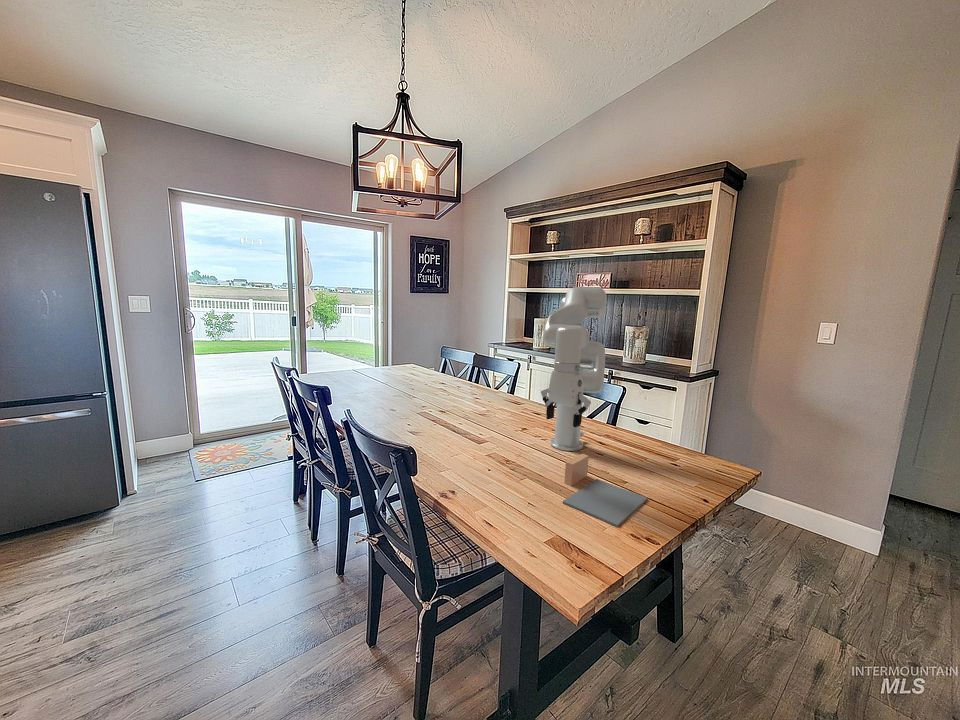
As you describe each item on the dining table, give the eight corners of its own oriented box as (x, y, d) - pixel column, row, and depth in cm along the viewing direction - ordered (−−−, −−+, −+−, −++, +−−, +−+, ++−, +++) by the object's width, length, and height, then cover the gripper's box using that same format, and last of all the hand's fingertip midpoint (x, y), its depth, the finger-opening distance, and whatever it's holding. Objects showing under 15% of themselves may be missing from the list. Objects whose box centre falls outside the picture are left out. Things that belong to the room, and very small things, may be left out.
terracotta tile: (580, 473, 129) (582, 453, 128) (587, 476, 127) (588, 455, 126) (564, 483, 122) (565, 462, 121) (571, 486, 120) (572, 464, 119)
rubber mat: (596, 480, 124) (596, 478, 124) (647, 499, 113) (647, 497, 113) (562, 503, 110) (562, 501, 110) (617, 527, 99) (617, 524, 99)
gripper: (599, 370, 115) (594, 427, 117) (550, 362, 127) (547, 413, 130) (585, 373, 110) (581, 432, 112) (536, 364, 122) (533, 417, 124)
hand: (563, 422), depth 121 cm, fingers open, 9 cm apart
